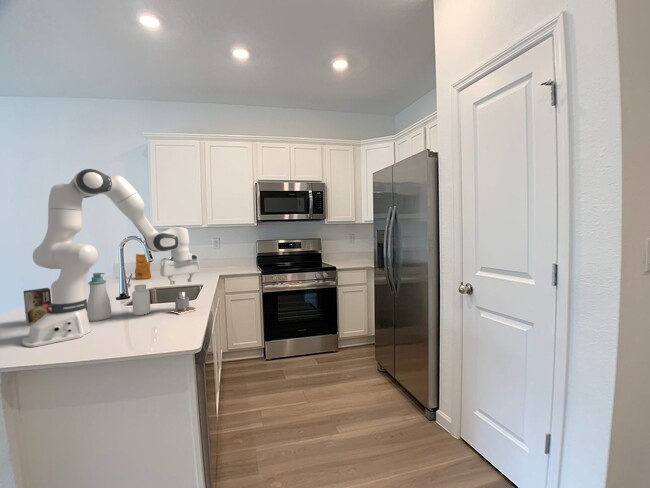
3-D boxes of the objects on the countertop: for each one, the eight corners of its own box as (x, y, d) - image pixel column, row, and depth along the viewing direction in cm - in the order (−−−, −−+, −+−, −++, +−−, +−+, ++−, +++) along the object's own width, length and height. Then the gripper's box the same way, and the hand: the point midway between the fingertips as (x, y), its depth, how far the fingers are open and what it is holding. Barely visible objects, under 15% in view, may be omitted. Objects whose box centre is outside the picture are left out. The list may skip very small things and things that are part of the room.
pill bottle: (131, 316, 162) (129, 287, 161) (135, 312, 169) (134, 284, 168) (148, 314, 164) (146, 286, 163) (152, 310, 171) (150, 283, 170)
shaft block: (179, 314, 163) (178, 294, 162) (170, 312, 168) (169, 292, 167) (195, 310, 170) (194, 291, 169) (186, 308, 175) (185, 289, 175)
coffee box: (50, 319, 159) (48, 287, 158) (53, 321, 155) (50, 288, 154) (25, 323, 152) (23, 290, 151) (28, 326, 148) (25, 292, 147)
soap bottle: (99, 321, 153) (96, 274, 152) (82, 321, 155) (79, 274, 154) (116, 316, 163) (113, 271, 161) (100, 315, 165) (97, 271, 163)
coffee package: (136, 278, 283) (134, 253, 281) (152, 277, 287) (150, 253, 286) (134, 280, 274) (132, 254, 272) (150, 279, 278) (149, 254, 277)
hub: (180, 309, 165) (179, 299, 164) (173, 307, 168) (173, 298, 168) (191, 306, 170) (190, 297, 169) (184, 305, 173) (184, 296, 173)
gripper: (163, 258, 157) (164, 286, 157) (201, 255, 173) (201, 281, 174) (157, 258, 161) (158, 285, 161) (194, 255, 177) (195, 280, 177)
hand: (181, 283), depth 167 cm, fingers open, 8 cm apart
